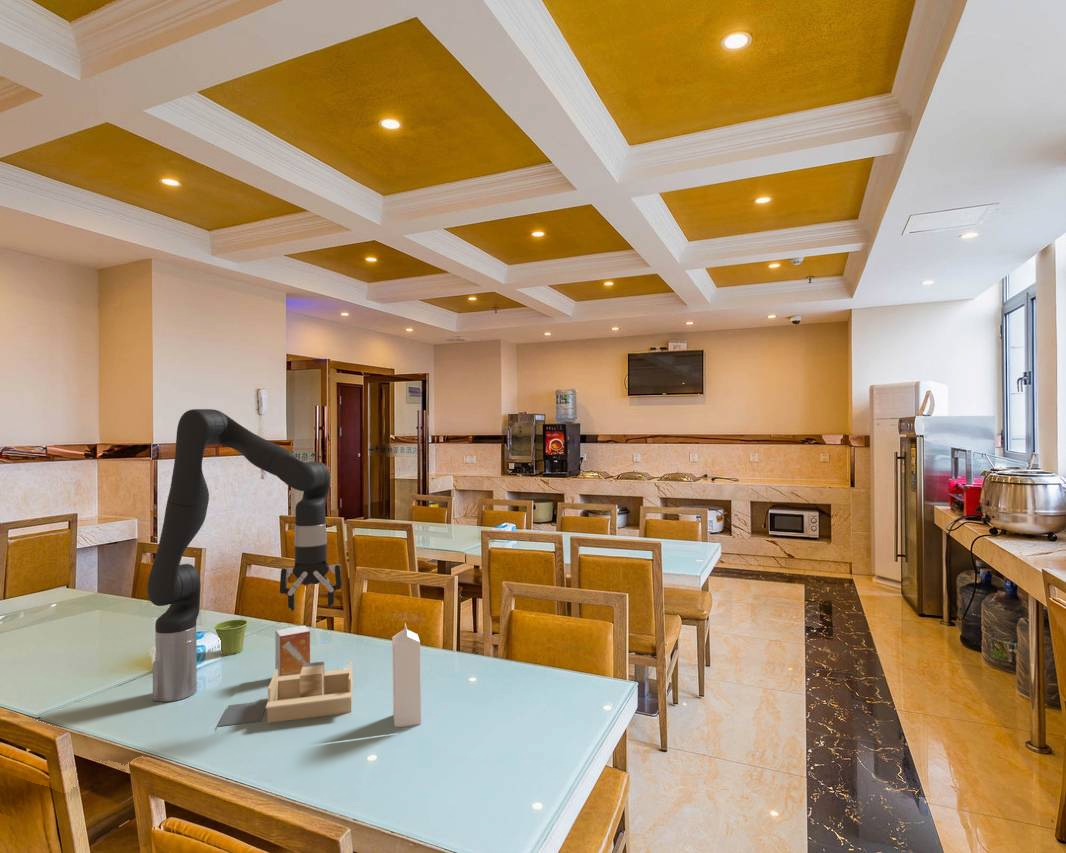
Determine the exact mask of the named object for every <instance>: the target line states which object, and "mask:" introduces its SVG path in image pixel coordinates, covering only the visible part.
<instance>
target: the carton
mask: <svg viewBox="0 0 1066 853" xmlns="http://www.w3.org/2000/svg"><path fill="white" fill-rule="evenodd" d="M353 673H354V668H353V661H351V660H350V661H349V668H344V669H336V670H335V669H334V670H324V686H325V695H319V696H310V697H302V698H300V674H297V675H288V676H279V677H278V669H276V668H275V671H274V672H273V675H272V678H271V680H270V683H269V686H268V687H267V701H268V703H267V705H266V709H265V710H267V723H268V724H270V723H277V722H286V721H291V720H292V721H293V720H301V719H309V718H315V717H323V716H333V715H340V714H347V713H352V710H353V709H352V708H353V707H352V705H353V692H354V685H353V684H354V683H353V680H354V678H353V677H354V676H353V675H354V674H353Z"/></svg>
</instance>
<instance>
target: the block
mask: <svg viewBox="0 0 1066 853" xmlns="http://www.w3.org/2000/svg"><path fill="white" fill-rule="evenodd" d="M324 672H325V661H318V662H317V661H315V662H310V663H305V664H303V667H302V670H301V673H300V698H302V697H310V696H319V695H325V686H324Z"/></svg>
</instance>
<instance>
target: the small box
mask: <svg viewBox="0 0 1066 853" xmlns="http://www.w3.org/2000/svg"><path fill="white" fill-rule="evenodd" d="M274 633H275V637H274V640H275V643H274V644H275V645H274V646H275V647H274V648H275V651H274V652H275V655H274V656H275V657H274V658H275V670H276V669H278V677H279V676H288V675H297V674H300V673H301V670H302V667H303V664H305V663H311V630H310V629H309V628H308V627H307V626H306V624H305V625H301V626H292V627H287V628H282V629H275V632H274Z"/></svg>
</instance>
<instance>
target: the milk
mask: <svg viewBox="0 0 1066 853" xmlns="http://www.w3.org/2000/svg"><path fill="white" fill-rule="evenodd" d="M391 640H392V714H393V723H394V724H393V725H394V727H395V728H396V727H398V728H404V727H411V726H417V725H418V726H419V725H421V724H422V696H421V695H422V686H421V685H422V683H421V680H422V679H421V677H422V676H421V675H422V674H421V673H422V672H421V669H422V668H421V640H420V638H419V635H418V633H416V632H413V631H412V630H410V629H408V627H407V624H406V622H404V629H402V630H401V631H399V632H398V633H397V634H395V635H394V636H392V637H391Z"/></svg>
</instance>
